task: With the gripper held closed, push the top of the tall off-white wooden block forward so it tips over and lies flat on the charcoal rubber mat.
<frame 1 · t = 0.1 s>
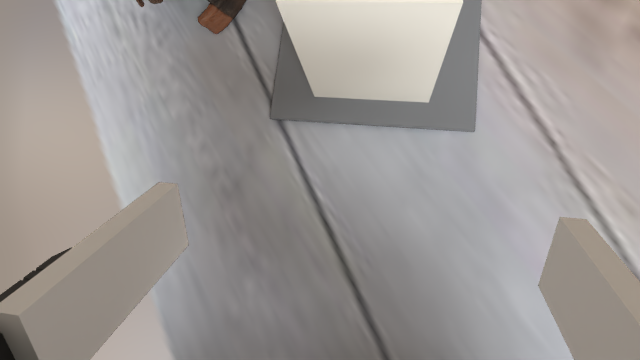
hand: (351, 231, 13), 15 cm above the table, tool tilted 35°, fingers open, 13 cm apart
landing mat: (380, 0, 32), on the table
tall block: (372, 76, 30), resting on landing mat
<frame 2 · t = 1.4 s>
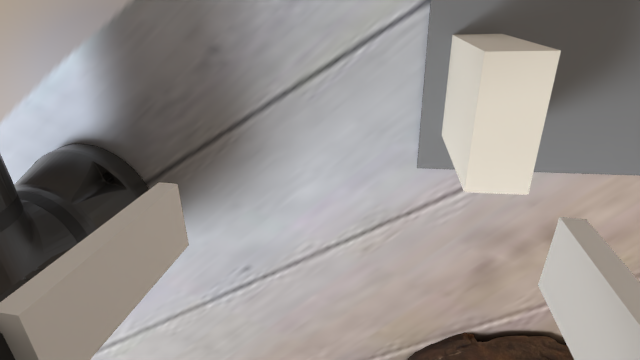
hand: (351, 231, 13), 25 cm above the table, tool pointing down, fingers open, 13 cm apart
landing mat: (552, 86, 33), on the table
tall block: (469, 87, 34), resting on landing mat
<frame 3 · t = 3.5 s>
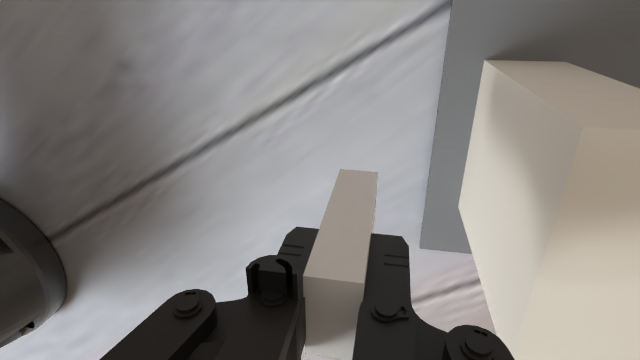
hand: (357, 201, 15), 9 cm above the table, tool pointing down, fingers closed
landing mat: (638, 146, 21), on the table
tall block: (506, 141, 22), resting on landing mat
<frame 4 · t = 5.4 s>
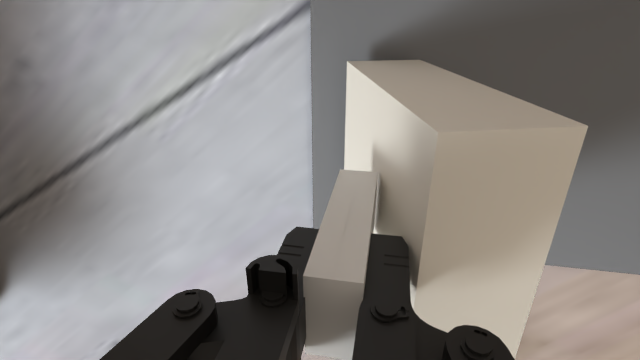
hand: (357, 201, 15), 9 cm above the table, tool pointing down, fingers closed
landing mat: (499, 141, 22), on the table
tall block: (378, 140, 22), point 1 cm above the table, tilted 17°, touching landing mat
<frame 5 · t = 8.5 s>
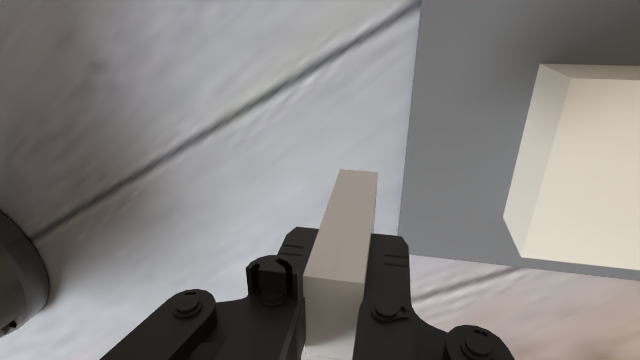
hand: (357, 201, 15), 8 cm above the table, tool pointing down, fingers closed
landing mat: (615, 151, 20), on the table
tall block: (530, 161, 19), point 2 cm above the table, tilted 90°, touching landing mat
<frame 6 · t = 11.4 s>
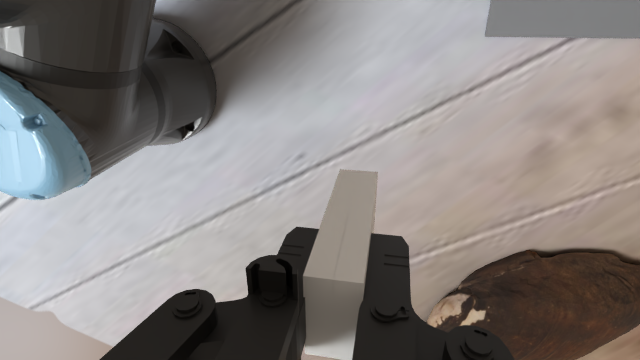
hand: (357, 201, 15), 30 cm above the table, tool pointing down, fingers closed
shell: (522, 310, 53), on the table
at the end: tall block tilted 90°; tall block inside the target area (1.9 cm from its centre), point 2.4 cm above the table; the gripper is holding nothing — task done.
